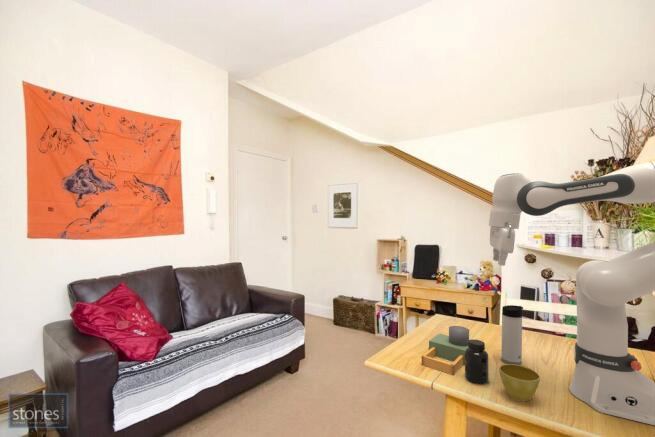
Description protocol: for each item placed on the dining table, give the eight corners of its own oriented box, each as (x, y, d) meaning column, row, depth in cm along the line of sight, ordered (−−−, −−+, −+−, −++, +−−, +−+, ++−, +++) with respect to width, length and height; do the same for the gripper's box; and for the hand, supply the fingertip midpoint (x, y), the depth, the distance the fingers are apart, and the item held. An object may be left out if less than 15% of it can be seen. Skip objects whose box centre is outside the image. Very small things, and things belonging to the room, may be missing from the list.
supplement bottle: (483, 374, 103) (483, 338, 103) (492, 385, 96) (492, 347, 96) (461, 373, 104) (462, 337, 104) (469, 384, 97) (469, 345, 97)
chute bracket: (463, 364, 110) (463, 355, 110) (453, 375, 103) (453, 365, 103) (432, 355, 118) (432, 347, 118) (421, 364, 110) (421, 356, 110)
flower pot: (502, 383, 98) (502, 360, 98) (541, 395, 92) (541, 370, 91) (495, 397, 90) (495, 372, 90) (537, 411, 84) (537, 385, 84)
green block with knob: (476, 356, 117) (476, 329, 117) (467, 365, 109) (468, 337, 109) (438, 345, 126) (439, 321, 126) (428, 353, 119) (429, 327, 119)
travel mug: (525, 366, 109) (526, 309, 109) (504, 364, 111) (505, 307, 110) (518, 358, 115) (519, 304, 115) (498, 356, 117) (499, 303, 117)
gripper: (523, 224, 94) (516, 270, 95) (507, 222, 114) (502, 259, 115) (499, 222, 96) (493, 266, 97) (488, 220, 116) (483, 257, 117)
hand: (498, 262), depth 106 cm, fingers open, 8 cm apart
